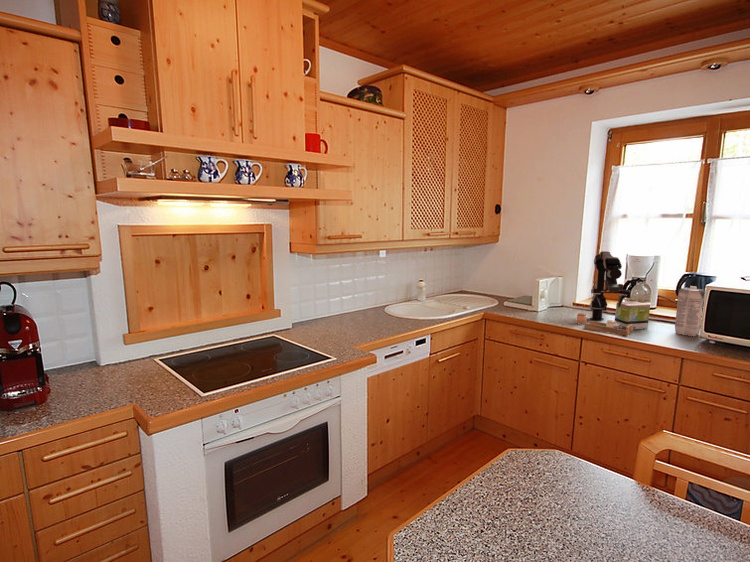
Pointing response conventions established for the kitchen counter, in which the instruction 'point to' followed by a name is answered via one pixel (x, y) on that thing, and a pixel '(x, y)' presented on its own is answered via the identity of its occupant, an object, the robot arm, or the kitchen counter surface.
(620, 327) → the pusher plate
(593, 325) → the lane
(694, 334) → the juice carton
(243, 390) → the kitchen counter surface
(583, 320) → the pinkish tan cube
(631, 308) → the tea box
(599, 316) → the robot arm
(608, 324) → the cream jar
